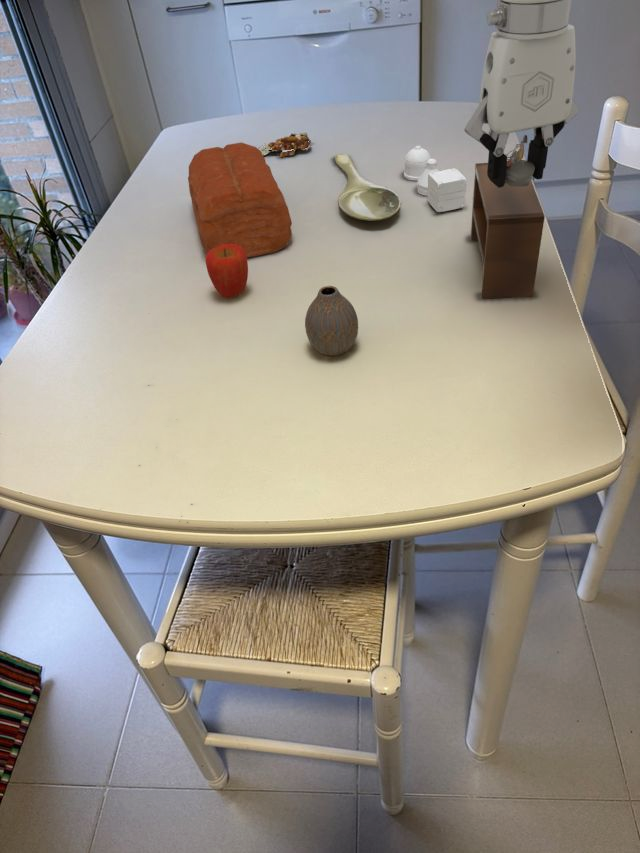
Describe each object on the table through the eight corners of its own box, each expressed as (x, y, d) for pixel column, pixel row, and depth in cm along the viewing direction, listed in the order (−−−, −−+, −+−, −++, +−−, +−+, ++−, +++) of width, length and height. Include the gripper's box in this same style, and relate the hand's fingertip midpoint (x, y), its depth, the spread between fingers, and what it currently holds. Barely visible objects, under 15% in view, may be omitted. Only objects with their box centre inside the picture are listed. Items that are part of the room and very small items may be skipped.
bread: (270, 186, 127) (261, 130, 120) (298, 248, 108) (290, 186, 100) (191, 202, 125) (178, 146, 118) (206, 267, 106) (191, 206, 99)
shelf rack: (515, 235, 104) (523, 160, 95) (532, 296, 91) (544, 215, 83) (470, 237, 105) (475, 163, 96) (481, 298, 92) (488, 219, 83)
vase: (298, 353, 86) (289, 297, 80) (327, 327, 90) (321, 271, 84) (341, 368, 83) (335, 311, 77) (369, 340, 87) (366, 283, 81)
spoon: (316, 168, 135) (315, 157, 134) (365, 160, 136) (365, 149, 134) (349, 233, 108) (348, 221, 107) (411, 222, 109) (411, 210, 108)
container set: (465, 209, 112) (467, 178, 108) (436, 215, 111) (437, 183, 108) (425, 167, 126) (426, 138, 123) (400, 172, 126) (399, 143, 122)
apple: (244, 306, 96) (235, 261, 91) (207, 303, 98) (195, 258, 93) (258, 283, 101) (250, 239, 95) (222, 281, 102) (212, 237, 97)
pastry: (256, 149, 142) (253, 132, 140) (310, 141, 142) (308, 124, 140) (257, 161, 137) (254, 144, 135) (313, 153, 137) (311, 136, 135)
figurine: (536, 190, 82) (543, 142, 78) (500, 193, 82) (505, 145, 78) (527, 173, 86) (533, 126, 82) (493, 176, 86) (497, 130, 82)
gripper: (475, 36, 67) (465, 204, 80) (623, 9, 69) (591, 177, 82) (447, 22, 73) (442, 181, 85) (585, -3, 75) (560, 157, 87)
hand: (515, 177), depth 83 cm, fingers closed on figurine, 4 cm apart
